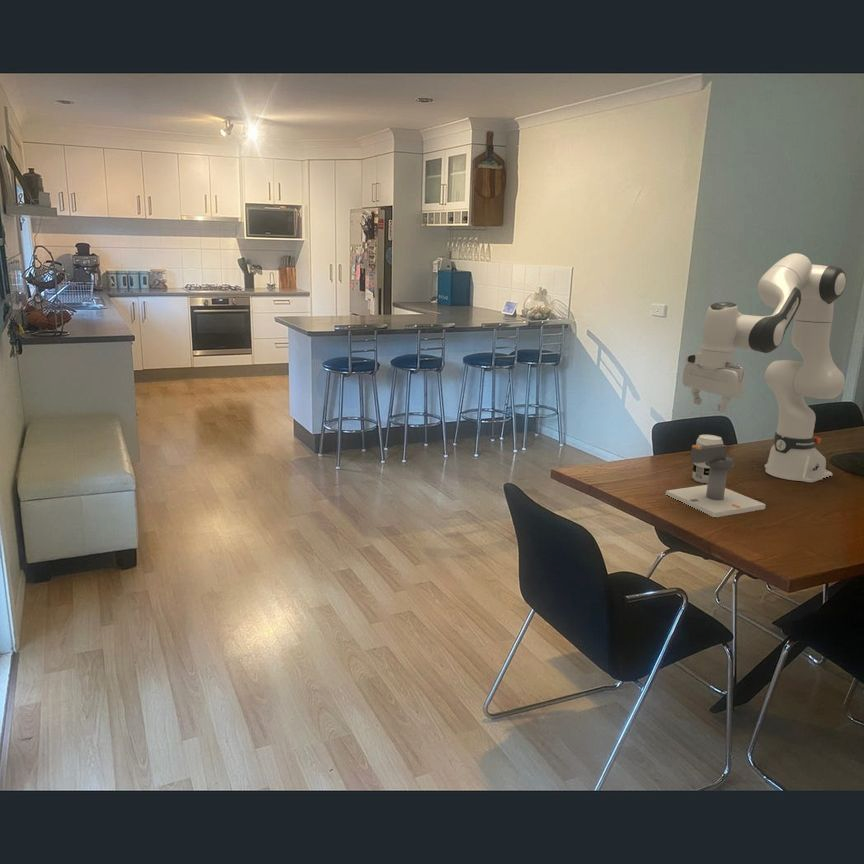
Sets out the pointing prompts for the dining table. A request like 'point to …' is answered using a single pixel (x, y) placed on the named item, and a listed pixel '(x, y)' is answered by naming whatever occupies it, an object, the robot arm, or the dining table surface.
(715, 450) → the twist knob
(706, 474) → the supplement can
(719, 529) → the dining table surface
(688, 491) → the base
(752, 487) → the dining table surface
